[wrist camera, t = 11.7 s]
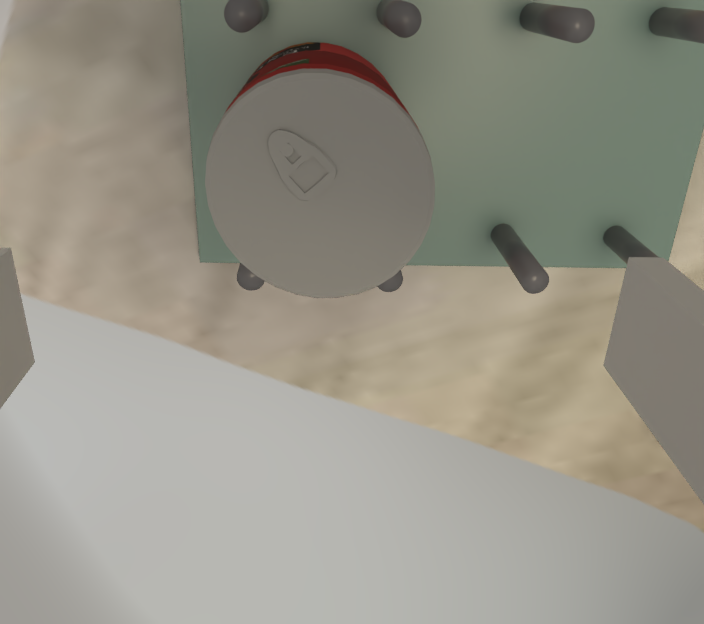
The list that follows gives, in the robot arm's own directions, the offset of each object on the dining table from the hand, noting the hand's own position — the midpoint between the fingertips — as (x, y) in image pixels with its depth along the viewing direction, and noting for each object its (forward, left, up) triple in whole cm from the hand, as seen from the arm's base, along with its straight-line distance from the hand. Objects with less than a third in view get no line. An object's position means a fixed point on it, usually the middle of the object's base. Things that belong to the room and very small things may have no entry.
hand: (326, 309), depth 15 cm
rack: (-6, 0, -21) cm, 21 cm away
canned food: (0, 0, -20) cm, 20 cm away
